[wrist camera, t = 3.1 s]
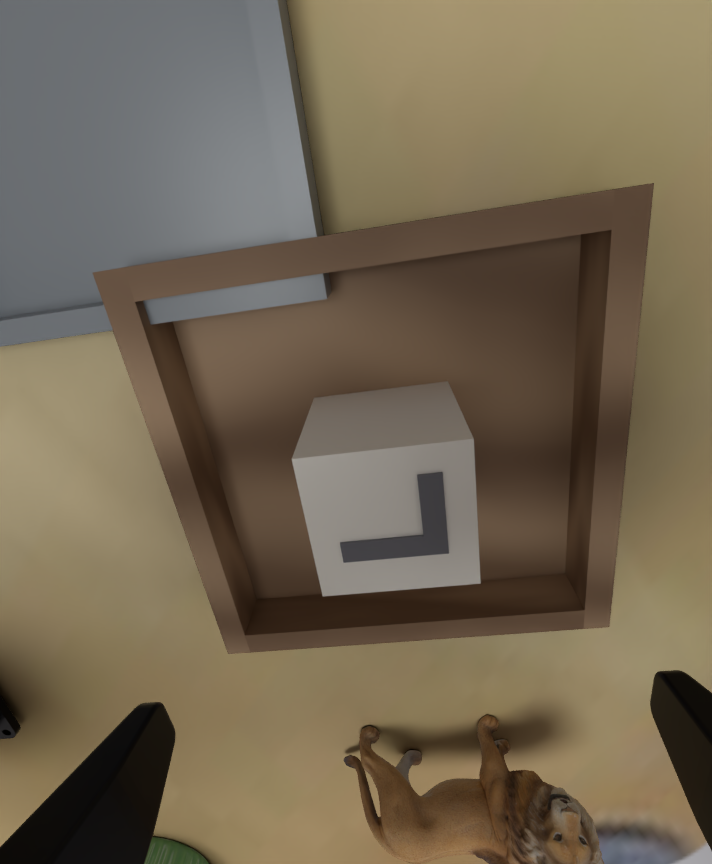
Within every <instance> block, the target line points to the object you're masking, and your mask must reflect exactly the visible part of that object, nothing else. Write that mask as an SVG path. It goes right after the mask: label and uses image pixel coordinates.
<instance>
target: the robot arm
mask: <svg viewBox="0 0 712 864" xmlns="http://www.w3.org/2000/svg"><path fill="white" fill-rule="evenodd" d="M650 706H651V712H652V715H653V718H654V721H655V723H656V725H657V728H658V730H659V733H660V735H661V737H662V740H663V742H664V745H665V747H666V749H667V752H668V754H669V757H670V759H671V761H672V764H673V766H674V769H675V771H676V773H677V776H678V778H679V781H680V783H681V785H682V788H683V790H684V793H685V795H686V797H687V800H688V802H689V805H690V807H691V809H692V811H693V814H694V816H695V818H696V821H697V823H698V825H699V827H700V829H701V831H702V833H703V835H704V837H705V839H706V841H707V843H708V845H709V846H710V848H711V850H712V693H711V692H710V691H709V690H707V689H706V688H705V687H703V686H702V685H701V684H700V683H698V682H697V681H696V680H694V679H693V678H692V677H691V676H689V675H688V674H686V673H685V672H682V671H679V670H673V671H659V672H657V673H656V674H655V677H654V682H653V688H652V694H651V701H650ZM20 728H21V727H20V724H19V723H18V721H17V720H16V718H15V717H14V715H13V714H12V712H11V711H10V709H9V708H8V706H7V705H6V703H5V702H4V700H3V699H2V697H1V696H0V739H6V738H14V737H15V736H16V734H17V733H18V732H19V730H20ZM174 743H175V729H174V726H173V724H172V722H171V720H170V718H169V715H168V713H167V711H166V709H165V707H164V705H163V704H162V703H160V702H152V703H142V704H140V705H138V706H137V707H136V708H135V709H134V710H133V711H132V712H131V713H130V714H129V715H128V716H127V717H126V718H125V719H124V720H123V721H122V722H121V723H120V724H119V725H118V726H117V727H116V728H115V729H114V730H113V731H112V732H111V733H110V734H109V735H108V736H107V737H106V738H105V740H104V741H103V742H102V743H101V744H100V745H99V746H98V747H97V748H96V749H95V750H94V751H93V752H92V753H91V754H90V755H89V756H88V757H87V758H86V759H85V760H84V761H83V762H82V763H81V764H80V765H79V766H78V767H77V768H76V769H75V770H74V771H73V773H72V774H71V775H70V776H69V777H68V778H67V779H66V780H65V781H64V782H63V783H62V784H61V785H60V786H59V787H58V788H57V789H56V790H55V791H54V792H53V793H52V794H51V795H50V796H49V797H48V798H47V799H46V800H45V801H44V802H43V803H42V804H41V806H40V807H39V808H38V809H37V810H36V811H35V812H34V813H33V814H32V815H31V816H30V817H29V818H28V819H27V820H26V821H25V822H24V823H23V824H22V825H21V826H20V827H19V828H18V829H17V830H16V831H15V832H14V833H13V834H12V835H11V836H10V838H9V839H8V840H7V841H6V842H5V843H4V844H3V845H2V846H1V847H0V864H144V863H145V860H146V856H147V853H148V850H149V847H150V843H151V840H152V837H153V833H154V829H155V825H156V821H157V817H158V813H159V808H160V804H161V800H162V795H163V791H164V787H165V782H166V778H167V774H168V770H169V765H170V761H171V757H172V752H173V748H174Z"/></svg>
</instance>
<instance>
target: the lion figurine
mask: <svg viewBox="0 0 712 864" xmlns="http://www.w3.org/2000/svg"><path fill="white" fill-rule="evenodd" d="M498 726H499V722H498V720H497V719H496V718H495V717H492V716H490V715H485V716H484V717H482V718H481V720H480V721H479V722H478V732H477V736H478V740H479V742H480V746H481V753H482V765H481V769H480V779H450V780H446V781H443V782H441V783H439V784H437V785H436V786H434V787H433V788H432V789H430V790H429V791H428V792H427V793H425V794H424V795H422V796H419V795H418V794H417V793H416V792H415V791H414V790H413V788H412V787H411V785H410V782H409V779H408V773H409V769H410V767H411V766H412V765H419V764H420V763H421V760H422V755H421V753H420V752H419V751H416V750H410V751H407V752H406V753H405V754H404V756H403V757H402V759H401V760H400V762H399V763H398V765H397V766H396V767H394V766H393V765H391V764H390V763H389V762H387V761H385V760H384V759H383V758H381V757H380V756H378V755H377V754H376V753H375V752H374V751H373V750H372V749H371V744H372V743H376V742H377V740H378V739H379V737H380V733H379V732H378V731H377V729H376V728H374V727H371V726H368V727H365V728H363V729H362V731H361V733H360V740H359V744H360V754H361V761H360V760H359V759H358V758H357V757H355V756H352V755H349V756H347V757H345V758H344V762H345V764H346V765H347V766H349V767H352V768H355V769H356V771H357V774H358V780H359V786H360V792H361V798H362V803H363V807H364V812H365V815H366V819H367V822H368V824H369V827H370V829H371V831H372V833H373V835H374V837H375V838H376V840H377V841H378V842H379V844H380V845H381V846H382V847H383V848H384V849H385V850H386V851H387V852H388V853H389V854H391V855H392V856H394V857H396V858H398V859H401V860H403V861H406V862H409V863H412V864H421V863H425V862H428V861H431V860H434V859H437V858H441V857H445V856H453V855H461V854H472V855H476V856H477V857H478V858H482V859H484V860H485V861H486V862H488V863H489V864H604V862H603V860H602V858H601V856H602V854H601V851H600V848H599V839H598V837H597V834H596V830H595V825H594V822H593V820H592V818H591V817H590V816H589V814H588V813H587V811H586V810H585V809H584V807H583V806H582V805H581V804H580V803H579V802H578V801H577V800H576V799H574V798H572V797H571V796H570V795H569V794H567V793H566V791H565V790H564V789H563V788H557V787H554V786H552V785H550V784H547V783H545V782H543V781H542V780H541V779H540V777H539V776H538V775H537V774H536V773H535V772H534V771H528V770H519V771H517V770H516V771H511V772H509V770H508V768H507V766H506V763H505V760H504V755H505V754H506V753H508V751H509V750H510V745H509V743H508V741H507V740H505V739H500V740H496V741H494V740H493V737H492V733H493V732H494V731H496V730H497V728H498ZM364 769H365V770H366V771H367V772H368V773H369V774H370V775H371V777H372V778H373V781H374V783H375V785H376V787H377V790H378V794H379V801H380V812H381V817H378V816H377V813H376V810H375V807H374V803H373V800H372V797H371V793H370V790H369V785H368V782H367V778H366V774H365V771H364Z"/></svg>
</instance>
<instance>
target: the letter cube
mask: <svg viewBox="0 0 712 864" xmlns="http://www.w3.org/2000/svg"><path fill="white" fill-rule="evenodd" d="M292 463H293V468H294V472H295V476H296V481H297V485H298V490H299V494H300V499H301V503H302V507H303V512H304V516H305V521H306V525H307V529H308V534H309V538H310V543H311V547H312V551H313V556H314V560H315V565H316V569H317V574H318V578H319V582H320V587H321V591H322V596H335V595H347V594H359V593H372V592H384V591H396V590H408V589H421V588H433V587H445V586H457V585H470V584H481V581H480V560H479V539H478V518H477V497H476V476H475V455H474V438H473V436H472V434H471V432H470V429H469V427H468V425H467V423H466V421H465V418H464V416H463V414H462V412H461V409H460V407H459V405H458V403H457V401H456V398H455V396H454V394H453V392H452V389H451V387H450V385H449V383H448V381H446V382H438V383H430V384H422V385H414V386H406V387H398V388H390V389H382V390H374V391H366V392H358V393H350V394H342V395H334V396H326V397H318V398H314V399H313V402H312V405H311V408H310V410H309V413H308V416H307V419H306V421H305V424H304V427H303V429H302V432H301V435H300V438H299V440H298V443H297V446H296V449H295V451H294V454H293V457H292Z"/></svg>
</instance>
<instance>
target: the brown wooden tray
mask: <svg viewBox="0 0 712 864" xmlns="http://www.w3.org/2000/svg"><path fill="white" fill-rule="evenodd" d="M653 187H654V183H652V184H645V185H639V186H632V187H626V188H619V189H612V190H606V191H600V192H593V193H587V194H581V195H575V196H568V197H562V198H556V199H549V200H543V201H537V202H531V203H524V204H518V205H512V206H505V207H499V208H493V209H487V210H480V211H474V212H468V213H462V214H455V215H449V216H443V217H436V218H430V219H424V220H418V221H411V222H405V223H399V224H392V225H386V226H380V227H374V228H367V229H361V230H355V231H348V232H342V233H336V234H330V235H323V236H318V237H312V238H306V239H300V240H293V241H286V242H280V243H273V244H267V245H261V246H254V247H248V248H242V249H236V250H229V251H223V252H217V253H210V254H204V255H198V256H192V257H185V258H179V259H173V260H166V261H160V262H154V263H148V264H141V265H135V266H129V267H123V268H117V269H111V270H105V271H99V272H93V276H94V279H95V282H96V285H97V287H98V290H99V293H100V296H101V299H102V301H103V304H104V307H105V310H106V313H107V315H108V318H109V321H110V324H111V327H112V329H113V332H114V335H115V338H116V341H117V343H118V346H119V349H120V352H121V355H122V357H123V360H124V363H125V366H126V369H127V371H128V374H129V377H130V380H131V383H132V385H133V388H134V391H135V394H136V397H137V399H138V402H139V405H140V408H141V411H142V414H143V416H144V419H145V422H146V425H147V428H148V430H149V433H150V436H151V439H152V442H153V444H154V447H155V450H156V453H157V456H158V458H159V461H160V464H161V467H162V470H163V472H164V475H165V478H166V481H167V484H168V486H169V489H170V492H171V495H172V498H173V500H174V503H175V506H176V509H177V512H178V514H179V517H180V520H181V523H182V526H183V528H184V531H185V534H186V537H187V540H188V542H189V545H190V548H191V551H192V554H193V556H194V559H195V562H196V565H197V568H198V571H199V573H200V576H201V579H202V582H203V585H204V587H205V590H206V593H207V596H208V599H209V601H210V604H211V607H212V610H213V613H214V615H215V618H216V621H217V624H218V627H219V629H220V632H221V635H222V638H223V641H224V643H225V646H226V649H227V652H228V654H235V653H249V652H263V651H277V650H291V649H306V648H320V647H334V646H348V645H362V644H376V643H390V642H405V641H419V640H433V639H447V638H461V637H475V636H489V635H504V634H518V633H532V632H546V631H560V630H574V629H588V628H602V627H609V624H610V614H611V604H612V595H613V585H614V575H615V565H616V555H617V545H618V535H619V525H620V515H621V505H622V495H623V485H624V475H625V465H626V455H627V445H628V435H629V425H630V415H631V406H632V396H633V386H634V376H635V366H636V356H637V346H638V336H639V326H640V316H641V306H642V296H643V286H644V276H645V266H646V256H647V246H648V236H649V226H650V216H651V207H652V197H653ZM322 273H329V278H330V284H331V291H332V293H331V294H330V296H329V297H328V298H327V299H324V300H317V301H310V302H303V303H296V304H289V305H282V306H276V307H269V308H262V309H255V310H248V311H241V312H234V313H227V314H221V315H214V316H207V317H200V318H193V319H186V320H179V321H172V322H166V323H159V324H152V325H151V324H150V321H149V318H148V315H147V312H146V309H145V306H144V303H143V300H150V299H157V298H163V297H170V296H177V295H183V294H190V293H196V292H203V291H210V290H216V289H223V288H230V287H236V286H243V285H249V284H256V283H263V282H269V281H276V280H283V279H289V278H296V277H302V276H309V275H316V274H322ZM446 381H448V383H449V385H450V387H451V389H452V392H453V394H454V396H455V398H456V401H457V403H458V405H459V407H460V409H461V412H462V414H463V416H464V418H465V421H466V423H467V425H468V427H469V429H470V432H471V434H472V436H473V438H474V455H475V476H476V497H477V518H478V539H479V560H480V581H481V584H470V585H457V586H445V587H433V588H421V589H408V590H396V591H384V592H372V593H359V594H347V595H335V596H322V591H321V587H320V582H319V578H318V574H317V569H316V565H315V560H314V556H313V551H312V547H311V543H310V538H309V534H308V529H307V525H306V521H305V516H304V512H303V507H302V503H301V499H300V494H299V490H298V485H297V481H296V476H295V472H294V468H293V463H292V457H293V454H294V451H295V449H296V446H297V443H298V440H299V438H300V435H301V432H302V429H303V427H304V424H305V421H306V419H307V416H308V413H309V410H310V408H311V405H312V402H313V399H314V398H318V397H326V396H334V395H342V394H350V393H358V392H366V391H374V390H382V389H390V388H398V387H406V386H414V385H422V384H430V383H438V382H446Z"/></svg>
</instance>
